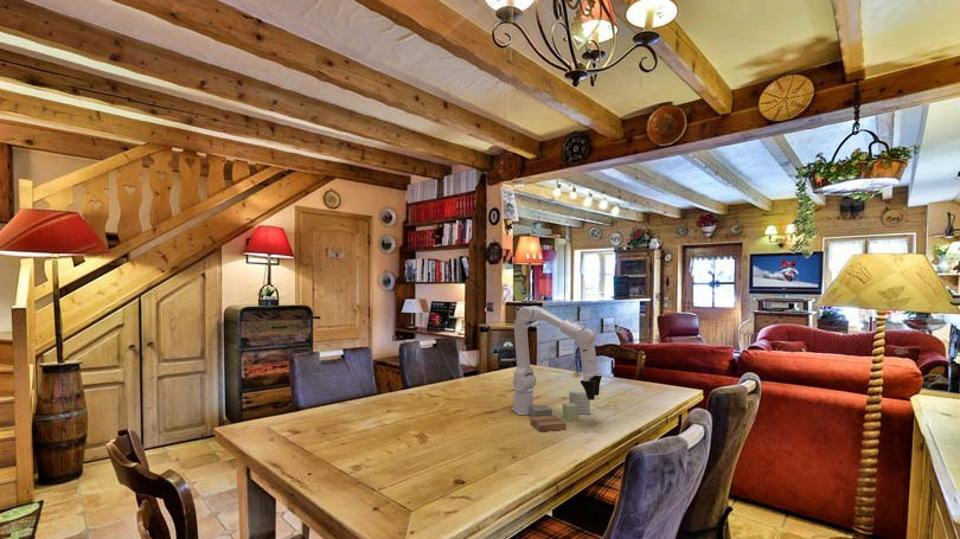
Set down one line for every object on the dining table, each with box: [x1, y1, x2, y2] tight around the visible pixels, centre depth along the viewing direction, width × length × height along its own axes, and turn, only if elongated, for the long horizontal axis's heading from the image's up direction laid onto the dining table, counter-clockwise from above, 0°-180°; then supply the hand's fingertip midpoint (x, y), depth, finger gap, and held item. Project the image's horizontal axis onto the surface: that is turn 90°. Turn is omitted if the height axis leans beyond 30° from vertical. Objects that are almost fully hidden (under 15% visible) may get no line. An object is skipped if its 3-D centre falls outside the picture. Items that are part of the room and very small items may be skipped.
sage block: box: [562, 402, 579, 423], centre depth 172 cm, size 4×4×6 cm
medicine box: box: [568, 390, 591, 415], centre depth 181 cm, size 8×4×9 cm, turn 84°
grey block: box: [528, 404, 553, 417], centre depth 175 cm, size 7×7×4 cm
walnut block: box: [529, 414, 567, 433], centre depth 163 cm, size 10×10×3 cm
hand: (593, 397), depth 165 cm, fingers open, 7 cm apart
